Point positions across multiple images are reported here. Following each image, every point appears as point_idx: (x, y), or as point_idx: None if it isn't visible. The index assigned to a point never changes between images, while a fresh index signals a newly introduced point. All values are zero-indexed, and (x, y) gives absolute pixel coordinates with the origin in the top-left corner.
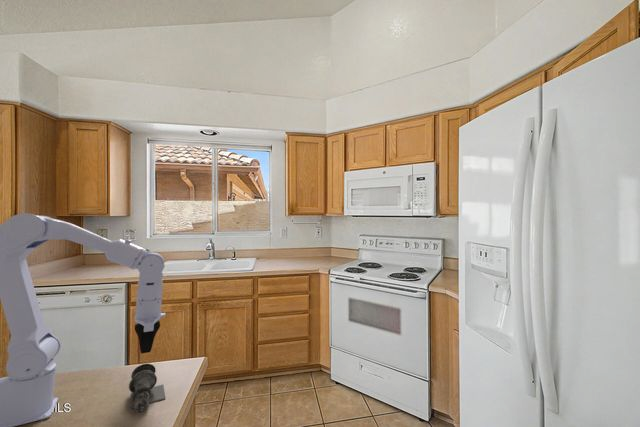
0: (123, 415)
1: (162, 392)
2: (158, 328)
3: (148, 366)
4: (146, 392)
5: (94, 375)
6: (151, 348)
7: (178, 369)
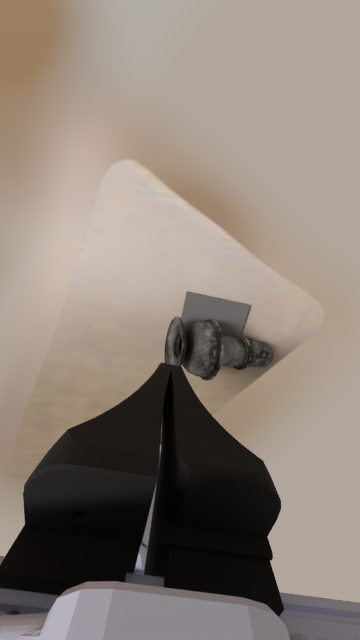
0: (243, 372)
1: (223, 303)
2: (264, 466)
3: (185, 346)
4: (255, 352)
5: (40, 387)
6: (182, 370)
7: (121, 230)
